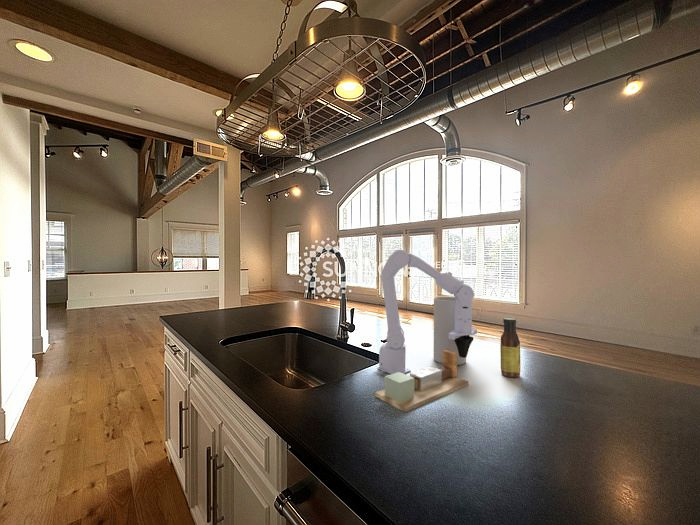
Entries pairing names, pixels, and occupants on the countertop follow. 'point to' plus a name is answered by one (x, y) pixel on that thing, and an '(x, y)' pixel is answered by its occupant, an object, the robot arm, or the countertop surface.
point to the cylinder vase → (444, 328)
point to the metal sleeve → (428, 378)
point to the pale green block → (399, 386)
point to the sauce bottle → (510, 349)
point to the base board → (425, 394)
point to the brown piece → (445, 366)
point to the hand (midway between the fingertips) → (462, 356)
